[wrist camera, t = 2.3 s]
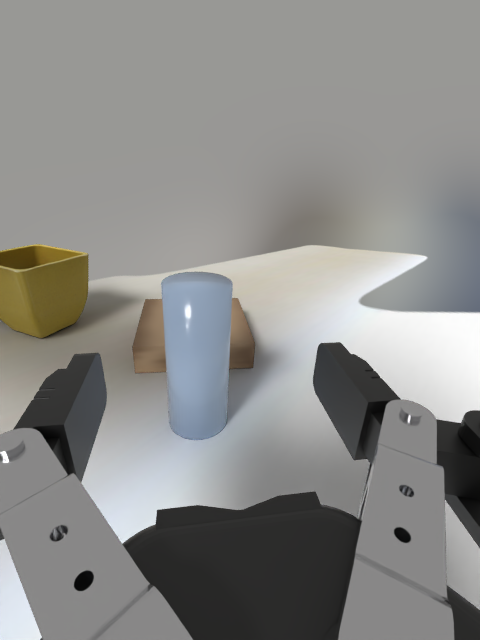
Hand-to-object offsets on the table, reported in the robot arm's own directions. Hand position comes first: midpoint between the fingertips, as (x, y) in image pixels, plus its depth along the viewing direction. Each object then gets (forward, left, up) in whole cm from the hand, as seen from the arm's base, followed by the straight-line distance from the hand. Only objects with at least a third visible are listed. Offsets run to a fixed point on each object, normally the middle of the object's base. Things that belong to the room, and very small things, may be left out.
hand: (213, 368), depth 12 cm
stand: (0, +24, -13) cm, 27 cm away
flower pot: (-18, +29, -13) cm, 37 cm away
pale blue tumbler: (0, +11, -13) cm, 17 cm away
